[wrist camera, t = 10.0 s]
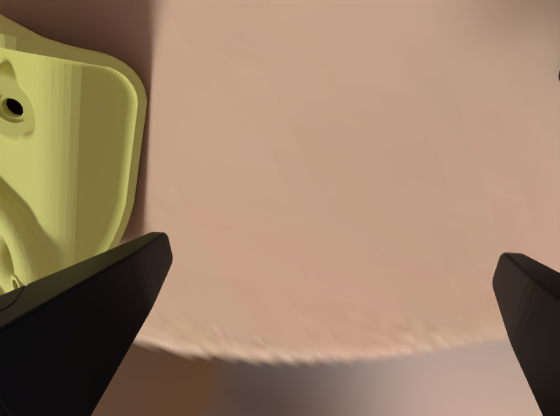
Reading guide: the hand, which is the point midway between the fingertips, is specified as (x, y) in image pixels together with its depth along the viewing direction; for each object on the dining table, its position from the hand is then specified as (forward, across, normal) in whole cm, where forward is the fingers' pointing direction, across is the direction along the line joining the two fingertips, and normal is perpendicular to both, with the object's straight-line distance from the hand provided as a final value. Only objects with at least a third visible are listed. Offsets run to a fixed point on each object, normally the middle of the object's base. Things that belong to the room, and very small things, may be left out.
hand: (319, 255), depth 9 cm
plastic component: (+12, +20, +2) cm, 24 cm away
